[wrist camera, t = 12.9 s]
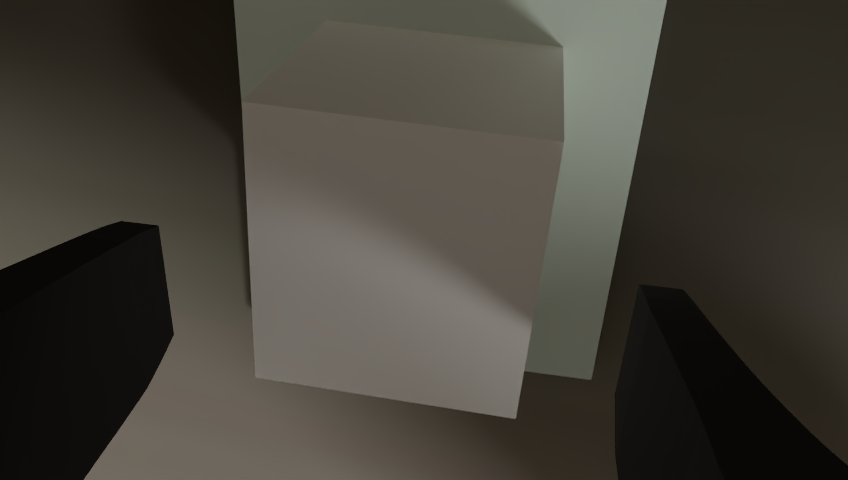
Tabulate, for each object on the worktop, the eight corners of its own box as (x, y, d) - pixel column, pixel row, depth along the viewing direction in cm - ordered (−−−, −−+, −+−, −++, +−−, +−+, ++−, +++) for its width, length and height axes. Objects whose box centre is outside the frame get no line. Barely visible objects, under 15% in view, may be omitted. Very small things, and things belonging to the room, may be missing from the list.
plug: (512, 356, 18) (499, 512, 14) (323, 327, 18) (260, 472, 15) (563, 47, 14) (564, 142, 10) (326, 20, 15) (241, 101, 11)
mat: (590, 363, 19) (591, 380, 18) (267, 321, 19) (259, 336, 19) (678, -86, 14) (683, -81, 13) (236, -116, 14) (225, -112, 14)
